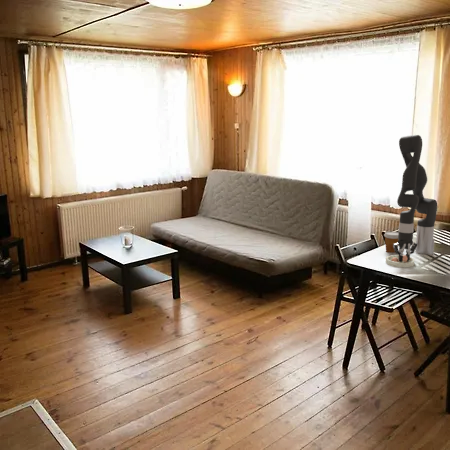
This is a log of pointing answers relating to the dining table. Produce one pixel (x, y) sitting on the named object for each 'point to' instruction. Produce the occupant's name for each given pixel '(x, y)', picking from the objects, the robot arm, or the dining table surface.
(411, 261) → the ring tray
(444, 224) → the dining table surface
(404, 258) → the peach orange ball
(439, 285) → the dining table surface
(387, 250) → the disposable coffee cup
